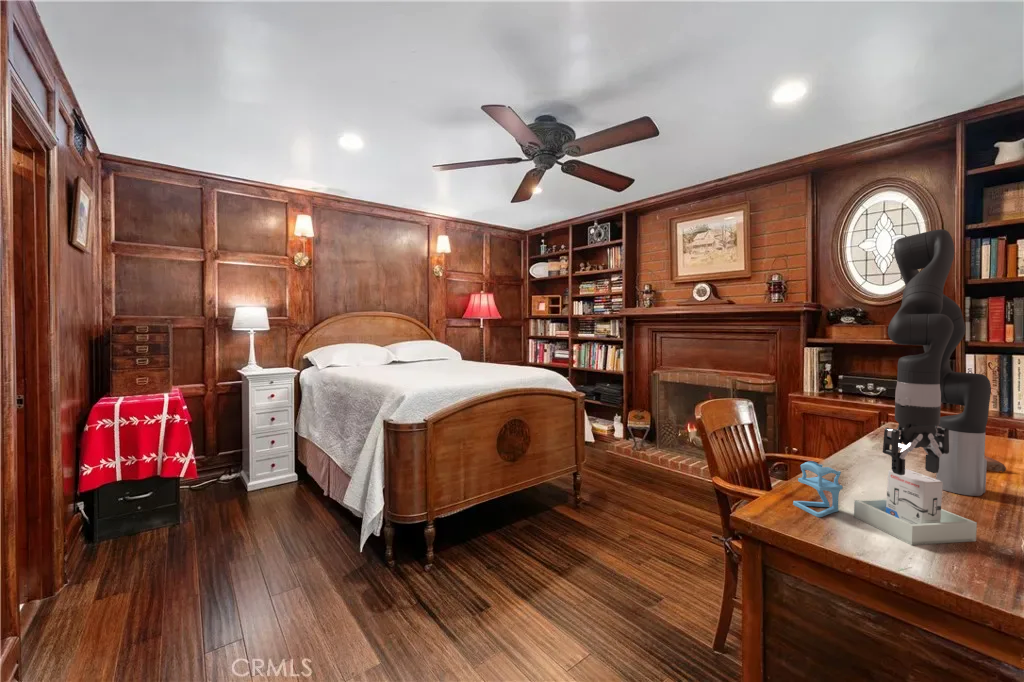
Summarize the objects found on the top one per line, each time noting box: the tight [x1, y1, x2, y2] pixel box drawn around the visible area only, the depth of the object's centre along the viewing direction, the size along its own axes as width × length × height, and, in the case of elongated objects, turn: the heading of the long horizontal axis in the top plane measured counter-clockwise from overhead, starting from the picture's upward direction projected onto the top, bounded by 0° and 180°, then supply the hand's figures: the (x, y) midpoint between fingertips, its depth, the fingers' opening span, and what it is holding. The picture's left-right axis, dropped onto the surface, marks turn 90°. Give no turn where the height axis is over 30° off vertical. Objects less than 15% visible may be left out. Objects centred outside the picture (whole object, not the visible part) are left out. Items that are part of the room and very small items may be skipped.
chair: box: [792, 460, 844, 518], centre depth 109 cm, size 8×8×12 cm
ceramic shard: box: [984, 455, 1007, 473], centre depth 144 cm, size 15×6×15 cm
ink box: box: [886, 468, 943, 524], centre depth 99 cm, size 9×5×12 cm, turn 6°
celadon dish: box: [853, 498, 978, 546], centre depth 99 cm, size 16×14×4 cm
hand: (915, 473), depth 98 cm, fingers open, 8 cm apart
